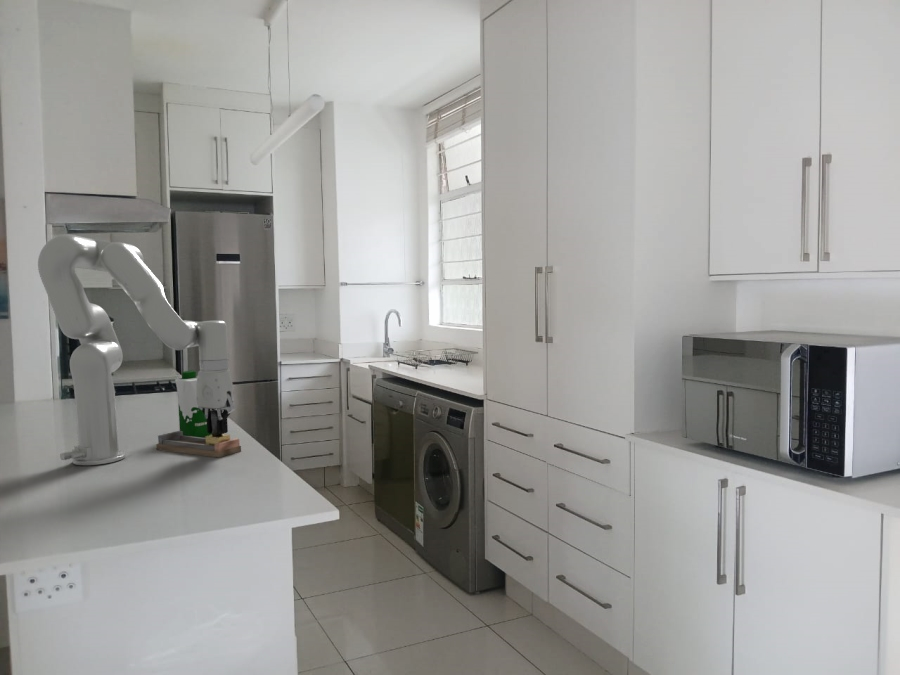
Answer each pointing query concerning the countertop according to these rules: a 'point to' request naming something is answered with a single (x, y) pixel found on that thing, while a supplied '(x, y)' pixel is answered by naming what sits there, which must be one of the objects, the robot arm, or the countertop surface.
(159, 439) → the rail base
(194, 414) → the milk carton
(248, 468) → the countertop surface
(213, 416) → the slider
